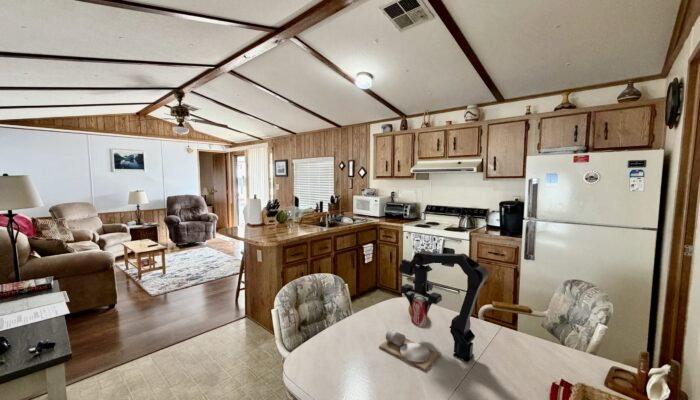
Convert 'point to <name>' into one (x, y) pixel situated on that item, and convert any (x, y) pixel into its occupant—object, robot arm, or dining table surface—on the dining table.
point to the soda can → (419, 311)
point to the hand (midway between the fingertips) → (419, 311)
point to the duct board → (409, 350)
